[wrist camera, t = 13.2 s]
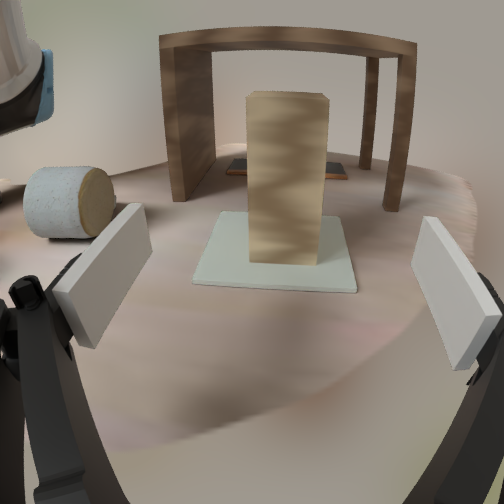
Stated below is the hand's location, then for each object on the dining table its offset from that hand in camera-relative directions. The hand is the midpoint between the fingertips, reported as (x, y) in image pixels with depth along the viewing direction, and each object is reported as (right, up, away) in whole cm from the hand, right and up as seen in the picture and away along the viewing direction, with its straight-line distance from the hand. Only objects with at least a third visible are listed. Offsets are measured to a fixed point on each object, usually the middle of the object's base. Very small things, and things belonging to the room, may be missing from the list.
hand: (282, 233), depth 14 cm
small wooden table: (+3, +9, +26) cm, 28 cm away
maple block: (+1, 0, +12) cm, 12 cm away
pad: (+1, 0, +12) cm, 12 cm away
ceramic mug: (-19, +2, +17) cm, 26 cm away
